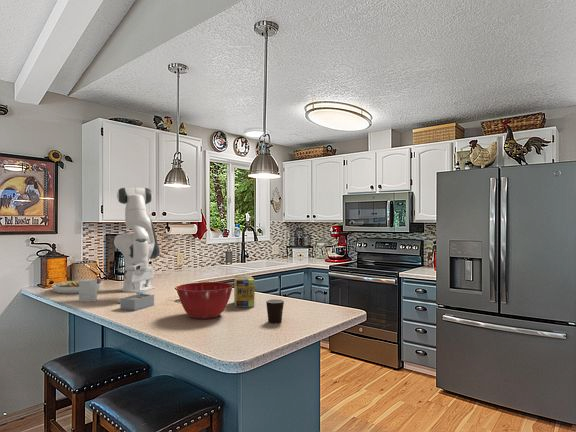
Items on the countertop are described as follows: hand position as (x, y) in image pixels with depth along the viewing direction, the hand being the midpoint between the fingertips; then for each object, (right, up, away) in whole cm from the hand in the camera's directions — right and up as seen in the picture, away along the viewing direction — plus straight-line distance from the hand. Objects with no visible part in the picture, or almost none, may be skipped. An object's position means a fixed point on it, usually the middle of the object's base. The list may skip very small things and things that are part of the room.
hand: (140, 288), depth 239 cm
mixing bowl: (+47, -7, -38) cm, 61 cm away
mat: (-2, -7, -5) cm, 9 cm away
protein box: (+64, -8, -11) cm, 66 cm away
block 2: (+7, -6, -18) cm, 20 cm away
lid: (-2, -6, -5) cm, 8 cm away
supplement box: (-30, -7, -3) cm, 32 cm away
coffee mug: (+84, -8, -48) cm, 97 cm away
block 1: (+5, -6, -23) cm, 25 cm away
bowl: (-55, -8, +30) cm, 63 cm away
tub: (+6, -7, -20) cm, 22 cm away
